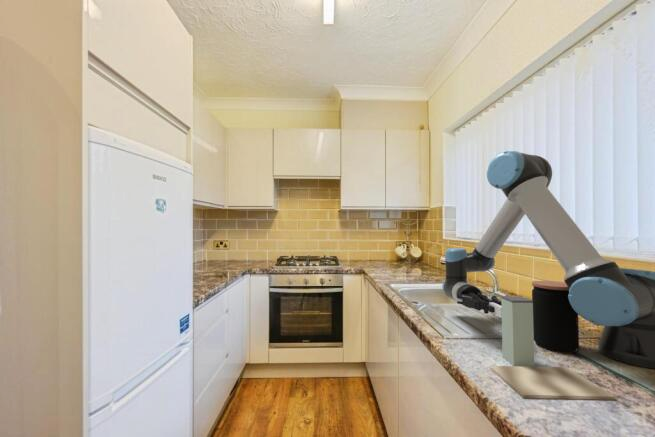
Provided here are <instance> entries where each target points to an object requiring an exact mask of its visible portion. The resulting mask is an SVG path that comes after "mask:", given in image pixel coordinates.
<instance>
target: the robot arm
mask: <svg viewBox="0 0 655 437" xmlns="http://www.w3.org/2000/svg"><path fill="white" fill-rule="evenodd" d="M552 176H553V169H552V166H551V164H550V163H549V161H548V160H546V158H544V157H542V156H540V155H535V154H528V153H524V152H520V151H515V150H512V151H511V150H508V151H502V152H500V153H499V154H496V156H494V157H493V158H492V159H491V161H490V162H489V164H488V166H487V170H486V179H487V182H488V183H489V184H490V185H491V186H492V187H493V188H494V189H496V190H497V189H498V190H501V192H502V193H503V194H504V195H505V197H506V200H505V201H504V204H502V206H501V208H500V209H499V211H498V213H497V214H496V215H495V217H494V219H493V220H492V221H491V223H490V225H489V226H488V228H487V229H486V231H485V232H484V234H483V235H482V237H481V239H480V240H479V241H478V243H477V244H476V246H475V247H474V249H473V251H472V252H467V250H466V249H465V248H460V247H459V248H458V247H455V248H454V247H453V248H452V247H451V248H450V247H449V248H447V249H446V250H445V258H444V260H445V261H444V262H445V280H443V283H442V286H441V287H442V292H443V293H444V294H445V295H446V296H447V297H449V298H450V299H452V300H454V301H456V304H459V305H462V306H463V307H466V308H468V309H472V310H473V309H474V310H475V311H482V310H483V313H484V314H487V315H488V314H489V313H491V314H493V315H494V316H496V317H498V318H500V319H502V304H501V300H500V298H498V297H497V296H496V295H492V296H491V295H490V297H488V296H487V295H485V294H483V293H482V291H481V290H480V289H479V288H478V287H477V286H475V285H472V284H470V283H468V279H467V278H468V273H477V272H480V273H482V272H486V271H490V270H492V269H493V268H494V266H495V263H496V262H495V261H496V260H495V257H496V256H497V254H498V253H499V251H500V250H501V248H502V247H503V246H504V245H505V243H506V241H507V240H508V239H509V238H510V236H511V234H512V233H513V232H514V230H515V229H516V227H517V226H518V224H520V222H521V221H522V220H523V218H524V216H526V217H527V219H528V221H529V222H530V223H531V225H532V226H533V227H534V229H535V230H536V232H537V233H538V234H539V236H540V237H541V239H542V240H543V241H544V243H545V245H546V246H547V248H548V249H549V250H550V252H551V253H552V255H553V256H554V257H555V259H556V260H557V262H558V263H559V264H560V266H561V268H563V270H564V272H565V274H564V276H563V277H564V278H563V282H564V283H566V285H567V286H568V288H569V295H568V298H569V302H570V304H571V306H572V308H573V309H574V310H575V312H576V313H577V314H578V316H579V317H581V318H582V319H584V320H585V321H587V322H589V323H591V324H594V325H597V326H601V327H603V329H602V331H601V335H600V338H599V339H598V341H597V349H598V352H599V353H601V354H602V355H604V356H606V357H608V358H610V357H611V359H613V358H614V359H613V360H615V359H617V360H616V361H618V360H619V361H618V362H622V361H623V362H622V363H625V364H629V365H634V366H636V367H637V366H638V367H641V368H649V369H655V271H652V270H643V269H634V268H632V269H631V268H624V267H619V265H618V264H617V263H616V262H615V261H614V260H611V259H606V258H604V257H602V255H600V253H599V251H597V249H596V248H595V246H594V245H593V244H592V243H591V242H590V240H589V239H588V238H587V236H586V235H585V234H584V232H583V231H582V230H581V229H580V227H578V225H577V224H576V223H575V221H574V220H573V219H572V217H571V216H570V215H569V214H568V212H567V211H566V210H565V209H564V207H563V205H561V203H560V202H559V201H558V199H557V198H556V196H554V195H553V193H552V192H551V191H550V189H549V186H550V185H551V181H552Z"/></svg>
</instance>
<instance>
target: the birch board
mask: <svg viewBox="0 0 655 437" xmlns="http://www.w3.org/2000/svg"><path fill="white" fill-rule="evenodd" d="M489 369H490V370H491V371H492V372H493V373H494V374H495V375H497V377H499V378H500V379H501V380H502V381H503V382H504V383H505V384H506V385H508V386H509V387H510V388H511V389H512V390H514V392H516V393H517V394H518V395H519V397H521V398H522V399H558V400H559V399H560V400H561V399H564V400H566V399H567V400H607V401H608V400H609V401H611V400H612V401H613V400H617V398H616V396H615V395H614V394H612V393H610V392H609V391H607V390H605V389H604V388H602V387H601V386H599V385H597V384H595V383H593V382H592V381H590V380H588V379H587V378H586V377H583V376H582V375H580V374H578V373H577V372H575V371H574V370H572V369H570V368H569V367H567V366H534V367H533V366H513V365H512V366H511V365H510V366H509V365H489Z"/></svg>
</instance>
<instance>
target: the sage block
mask: <svg viewBox="0 0 655 437" xmlns="http://www.w3.org/2000/svg"><path fill="white" fill-rule="evenodd" d="M500 299H501V300H500V301H501V304H502V318H501V337H502V338H501V341H502V342H501V344H502V359H504V360H505V361H506V362H508V363H509V364H510V365H512V366H528V367H535V341H534V329H533V301H532V299H530V298H526V297H525V296H516V295H515V296H514V295H512V296H511V295H510V296H507V295H506V296H503V295H501V296H500Z"/></svg>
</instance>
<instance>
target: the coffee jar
mask: <svg viewBox="0 0 655 437" xmlns="http://www.w3.org/2000/svg"><path fill="white" fill-rule="evenodd" d="M531 285H532V287H533V288H532V291H531V298H532V299H531V300H532V301H533V329H534V343H535V344H536V345H537V346H538V347H540V348H542V349H546V350H549V351H551V352H556V353H557V352H558V353H565V354H567V353H571V354H572V353H575V352H577V351H578V350H579V348H580V334H579V332H580V330H579V315H578V314H577V313H576V312H575V310H574V309H573V308H572V306H571V304H570V302H569V298H568V295H569V288H568V286H567V285H566V283H565V282H564V281H562V282H561V281H554V280H534V281H531Z"/></svg>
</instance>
